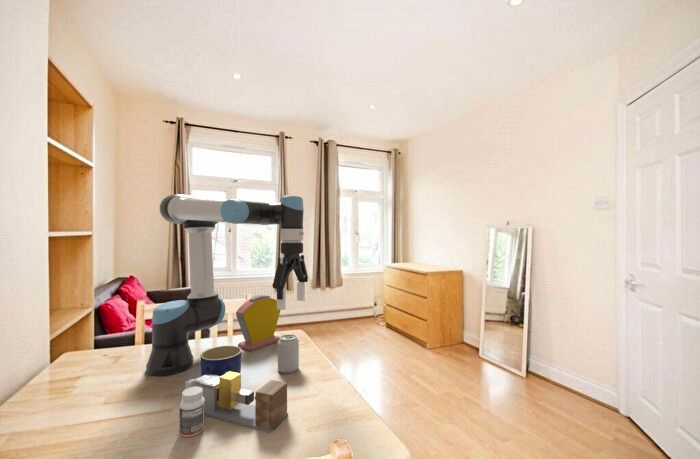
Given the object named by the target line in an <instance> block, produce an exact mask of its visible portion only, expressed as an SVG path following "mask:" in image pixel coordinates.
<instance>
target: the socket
mask: <svg viewBox="0 0 700 459" xmlns="http://www.w3.org/2000/svg"><path fill="white" fill-rule="evenodd" d="M254 402H255V405H254V406H255V425H258V426H262V427H266V428H270V429H273V428H275V429H276V428H277V427H278V426H279V425H277V424H278V423H279V422H280V421H282V419H283V418H284V417H285V416H286V415H287V413H288V382H286V381H280V380H275V379H274V380H273V379H270V380H268V382H266V383H265V384H264V385H263V386H261V387H260V388H258V389H257V390H255V395H254ZM282 422H283V421H282ZM282 422H280V424H281V423H282ZM276 425H277V427H275V426H276ZM275 429H273V430H272V432H274V431H275Z"/></svg>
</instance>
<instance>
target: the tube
mask: <svg viewBox="0 0 700 459" xmlns="http://www.w3.org/2000/svg"><path fill="white" fill-rule="evenodd" d="M196 379H197V378H191V379H189V380H187V381H185V382H184V383H185V384H184V386H185V387H184V388H185V389H188V388H190V387H192V381H194V380H196ZM185 389H184V390H185ZM217 398H219V407H222V408H226V409H232V408H234V407H235V406H236V405H238V404H239V403H243V404H246V405H249V404H250V405H251V404H252V403H253V402H255V391H254V390H248V389H244V388H242V373H236V372H231V371H229V372H227V373H226V374H224V375H222V376H221V377H219V387H218V388H217Z"/></svg>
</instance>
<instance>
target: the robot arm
mask: <svg viewBox="0 0 700 459" xmlns="http://www.w3.org/2000/svg"><path fill="white" fill-rule="evenodd" d="M304 210H305V208H304V199H303V197H302V196H298V195H283V196H281V198H280V202H274V203H273V202H271V203H270V202H264V201H263V202H261V201H252V200H246V199H238V198H228V199H221V198H220V199H217V198H216V199H215V198H211V197H206V196H200V195H190V194H189V195H188V194H182V193H181V194H180V193H175V194H169V195H167V196H165V197H164V198H163V199H162V200H161V202H160V204H159V214H160V215H161V216H162V218H163V219H164V220H166V221H167V222H168V223H169V222H170V223H172V224H176V225H183V230H184V231H185V232H186V233H187V234H188V249H189V250H188V252H189V254H188V255H189V273H190V274H189V277H190V293H189V294H188V295H187V298H186V300H185V299H179V300H178V299H177V300H171V301H166V302H164V303H160V304H159V305H157V306H156V307H155V308H154V309H153V310H152V316H151V327H152V330H151V333H152V334H151V338H152V340H151V350H150V353H149V357H148V361H147V363H146V365H145V366H146V367H145V373H146V374H147V375H149V376H156V377H161V376H169V375H174V374H178V373H181V372H184V371H187V370H188V369H189V368H191V367H192V366H193V365H194V355H193V353H192V350H191V346H190V344H189V334H192V333H195V332H199V331H202V330H206V329H210V328H213V327H215V326H217V325H219V324H220V323H221V322H222V321H223V320H224V317H225V315H226V303H225V302H224V300H223V299H222V297H219V293H218V292H217V291H216V289H215V283H214V281H215V280H214V277H215V276H214V263H213V262H214V261H213V260H214V258H213V257H214V256H213V241H212V240H213V239H212V238H213V236H212V235H213V234H212V233H213V231H215V229H216V225H217V224H218V223H228V224H233V225H236V224H237V225H238V224H240V225H241V224H242V225H243V224H245V225H247V224H248V225H249V224H250V225H260V226H261V225H262V226H268V225H280V241H282V242H281V243H280V254H283V257H282V256H281V257H278V258H277V266H276V271H275V275H274V278H273V283H272V285H271V286H272V288H273V289H275V290H276V300H277V309H281V310H286V308H287V306H286V305H287V304H286V301H287V300H286V299H287V296H286V295H287V294H286V293H287V292H286V284H287V283H288V282H287V281H288V279H289V276H290V274H291V272H292V271H293V272H294V273H295V274H294V275H295V276H296V279H297V282H296V301H297V302H300V301H302V302H305V301H306V300H305V299H306V288H305V287H306V285H305V284H306V283H307V282H308V280H309V276H308V275H309V274H308V271H307V266H306V261H305V255H304V254H303V253H304V243H303V242H302V241H304V234H305V232H304ZM281 310H280V311H281Z"/></svg>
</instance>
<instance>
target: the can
mask: <svg viewBox="0 0 700 459" xmlns="http://www.w3.org/2000/svg"><path fill="white" fill-rule="evenodd" d="M279 337H280V340H279V341H278V342H277V370H278V371H279V372H280V373H282V374H292V373H294V372H296V371H297V370H298V369H299V366H300V362H299V361H300V359H299V358H300V354H299V352H300V341H299V339H298V336H297V335H296V334H291V333H290V334H283V335H281V336H279Z"/></svg>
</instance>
